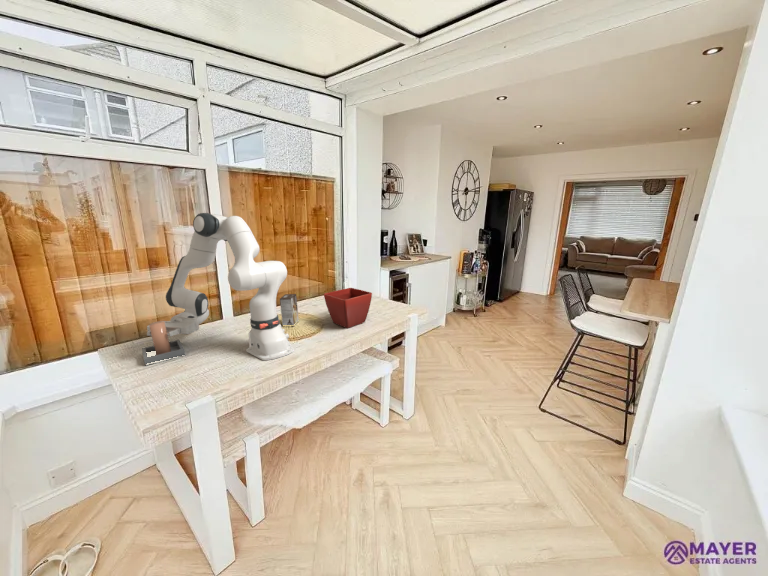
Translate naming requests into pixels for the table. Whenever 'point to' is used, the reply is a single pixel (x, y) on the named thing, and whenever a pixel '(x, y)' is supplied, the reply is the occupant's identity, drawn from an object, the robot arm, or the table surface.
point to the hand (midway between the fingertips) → (158, 334)
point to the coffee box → (289, 309)
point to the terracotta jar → (160, 337)
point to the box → (175, 351)
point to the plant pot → (348, 306)
